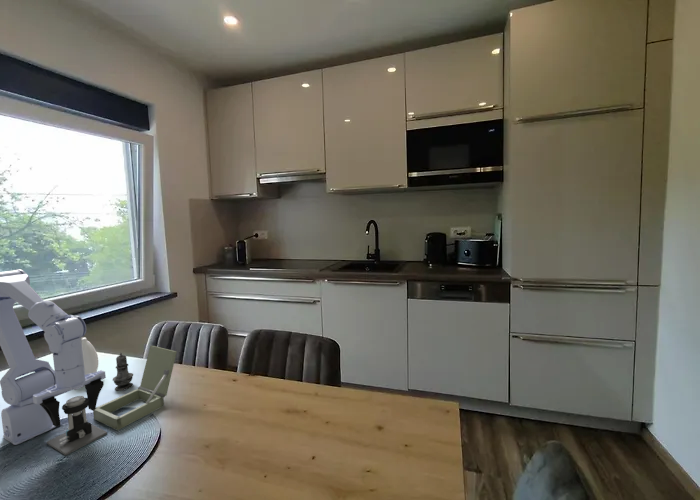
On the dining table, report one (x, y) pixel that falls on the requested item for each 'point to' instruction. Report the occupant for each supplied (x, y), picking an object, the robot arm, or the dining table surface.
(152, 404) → the equipment case
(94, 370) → the sauce bottle
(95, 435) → the mat
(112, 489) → the dining table surface
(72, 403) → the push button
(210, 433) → the dining table surface
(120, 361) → the grey tall tiered piece
